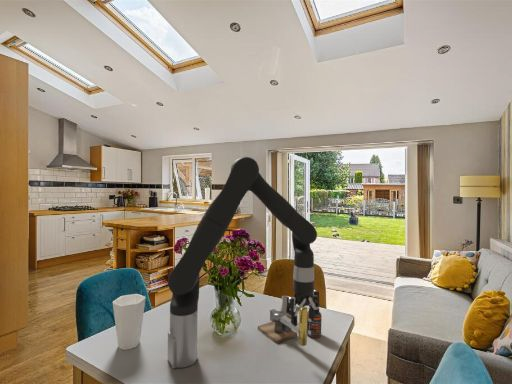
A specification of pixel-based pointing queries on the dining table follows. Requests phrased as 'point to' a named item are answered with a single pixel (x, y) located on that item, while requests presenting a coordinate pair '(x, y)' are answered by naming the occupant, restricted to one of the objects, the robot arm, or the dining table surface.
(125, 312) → the cup
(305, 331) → the lever
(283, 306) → the flask
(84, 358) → the dining table surface
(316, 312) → the supplement bottle
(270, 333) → the base
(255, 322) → the dining table surface
